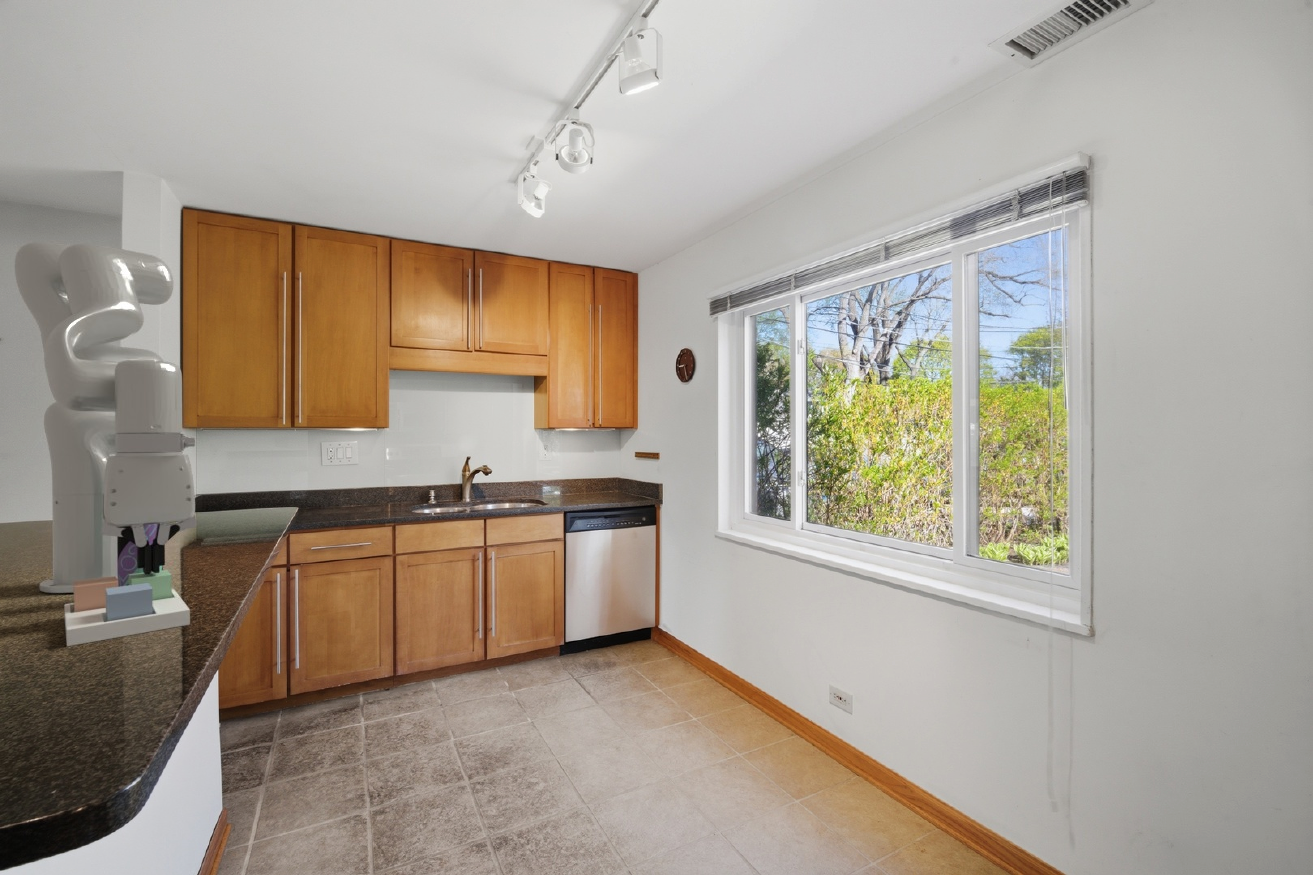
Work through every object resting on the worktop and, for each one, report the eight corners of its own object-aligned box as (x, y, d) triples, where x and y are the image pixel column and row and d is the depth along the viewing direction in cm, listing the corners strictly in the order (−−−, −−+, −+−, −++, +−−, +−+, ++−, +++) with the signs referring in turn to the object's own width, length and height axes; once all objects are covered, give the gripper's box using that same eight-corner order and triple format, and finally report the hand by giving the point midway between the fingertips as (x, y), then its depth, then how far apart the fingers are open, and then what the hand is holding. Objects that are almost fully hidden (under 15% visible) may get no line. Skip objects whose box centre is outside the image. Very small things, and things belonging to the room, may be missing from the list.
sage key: (128, 598, 88) (128, 574, 88) (167, 592, 91) (167, 569, 91) (131, 604, 85) (131, 579, 85) (171, 598, 88) (171, 574, 88)
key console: (64, 618, 85) (64, 604, 84) (173, 601, 93) (173, 588, 93) (66, 646, 74) (66, 630, 74) (189, 624, 82) (189, 609, 82)
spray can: (109, 602, 92) (108, 471, 92) (129, 593, 98) (129, 469, 97) (152, 600, 94) (151, 471, 93) (169, 590, 99) (169, 468, 99)
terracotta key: (73, 606, 84) (73, 581, 84) (116, 600, 87) (115, 575, 87) (74, 613, 81) (74, 587, 81) (118, 606, 84) (118, 581, 84)
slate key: (105, 614, 81) (105, 588, 81) (148, 607, 84) (148, 582, 84) (108, 622, 78) (107, 595, 77) (152, 614, 81) (152, 588, 81)
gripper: (208, 444, 96) (209, 560, 96) (77, 446, 85) (79, 576, 85) (217, 445, 91) (218, 567, 91) (79, 447, 80) (81, 586, 80)
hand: (151, 571), depth 88 cm, fingers closed
